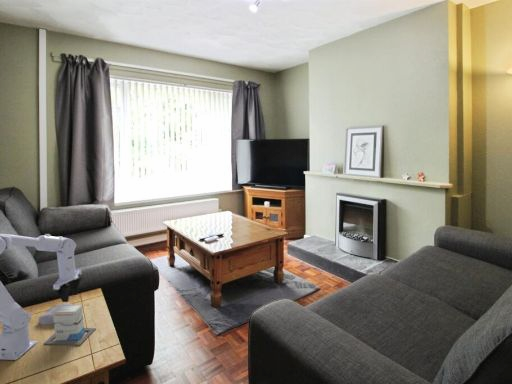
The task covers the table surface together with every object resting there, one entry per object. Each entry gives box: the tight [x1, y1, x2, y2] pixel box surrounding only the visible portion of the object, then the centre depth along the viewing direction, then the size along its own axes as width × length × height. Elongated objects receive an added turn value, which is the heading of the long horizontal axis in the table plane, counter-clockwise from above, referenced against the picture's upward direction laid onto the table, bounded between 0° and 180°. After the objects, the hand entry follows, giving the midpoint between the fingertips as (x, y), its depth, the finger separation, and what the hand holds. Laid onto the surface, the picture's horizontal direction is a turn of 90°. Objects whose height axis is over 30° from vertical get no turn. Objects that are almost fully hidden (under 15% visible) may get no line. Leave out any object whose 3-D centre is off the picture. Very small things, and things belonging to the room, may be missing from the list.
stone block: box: [38, 302, 76, 325], centre depth 129 cm, size 12×5×10 cm
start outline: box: [43, 327, 97, 347], centre depth 115 cm, size 10×14×1 cm
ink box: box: [53, 304, 86, 341], centre depth 114 cm, size 8×5×12 cm, turn 92°
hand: (70, 297), depth 124 cm, fingers open, 5 cm apart
